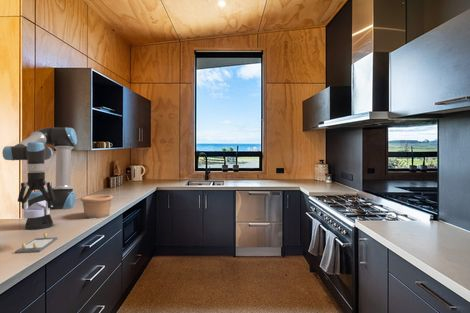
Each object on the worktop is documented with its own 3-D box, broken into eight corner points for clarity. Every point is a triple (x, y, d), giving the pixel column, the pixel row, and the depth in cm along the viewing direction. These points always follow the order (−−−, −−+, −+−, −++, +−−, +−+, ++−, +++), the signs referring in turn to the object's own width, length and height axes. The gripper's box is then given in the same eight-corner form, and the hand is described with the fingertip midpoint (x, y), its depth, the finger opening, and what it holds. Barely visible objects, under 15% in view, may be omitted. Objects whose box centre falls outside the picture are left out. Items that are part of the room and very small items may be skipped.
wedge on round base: (36, 212, 166) (19, 218, 153) (36, 200, 166) (19, 204, 153) (53, 212, 166) (37, 218, 153) (53, 200, 166) (37, 204, 153)
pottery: (75, 219, 216) (75, 199, 215) (89, 212, 238) (88, 194, 237) (106, 219, 216) (106, 199, 216) (117, 212, 238) (117, 194, 238)
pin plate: (36, 240, 169) (35, 232, 169) (57, 239, 171) (57, 232, 170) (15, 253, 148) (15, 245, 148) (39, 251, 150) (39, 243, 150)
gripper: (8, 172, 153) (9, 217, 154) (56, 172, 157) (57, 215, 157) (16, 171, 161) (17, 214, 161) (62, 171, 164) (62, 212, 165)
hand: (37, 214), depth 159 cm, fingers closed on wedge on round base, 10 cm apart
